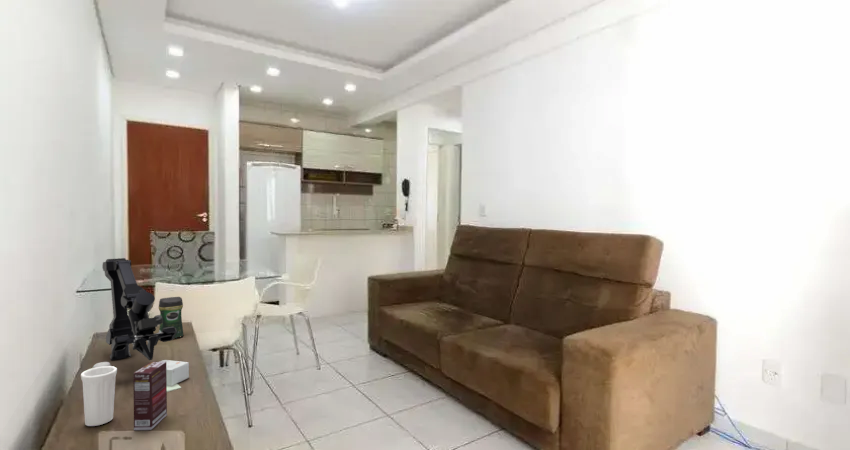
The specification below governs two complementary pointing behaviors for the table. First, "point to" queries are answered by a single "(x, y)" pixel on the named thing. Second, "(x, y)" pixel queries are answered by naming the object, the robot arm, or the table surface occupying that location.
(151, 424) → the supplement box
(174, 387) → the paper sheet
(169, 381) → the small box
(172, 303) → the coffee jar
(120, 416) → the table surface
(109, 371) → the cup
